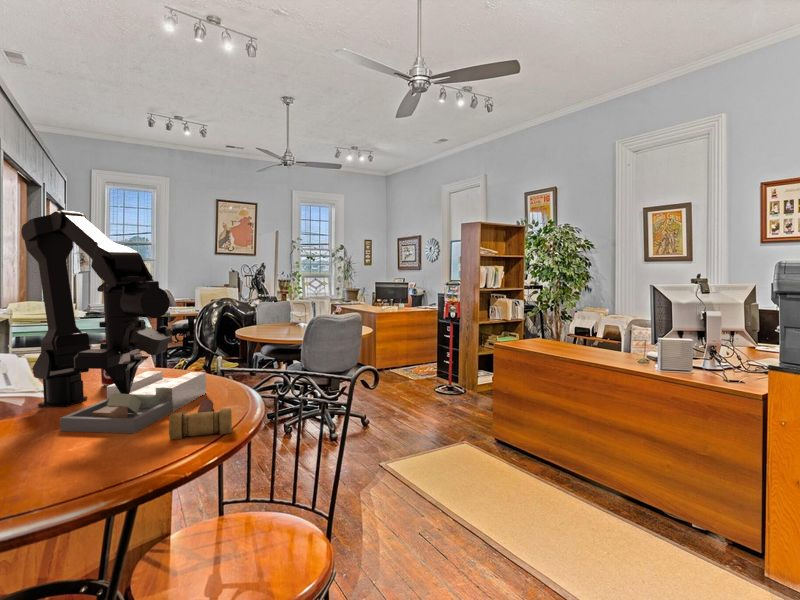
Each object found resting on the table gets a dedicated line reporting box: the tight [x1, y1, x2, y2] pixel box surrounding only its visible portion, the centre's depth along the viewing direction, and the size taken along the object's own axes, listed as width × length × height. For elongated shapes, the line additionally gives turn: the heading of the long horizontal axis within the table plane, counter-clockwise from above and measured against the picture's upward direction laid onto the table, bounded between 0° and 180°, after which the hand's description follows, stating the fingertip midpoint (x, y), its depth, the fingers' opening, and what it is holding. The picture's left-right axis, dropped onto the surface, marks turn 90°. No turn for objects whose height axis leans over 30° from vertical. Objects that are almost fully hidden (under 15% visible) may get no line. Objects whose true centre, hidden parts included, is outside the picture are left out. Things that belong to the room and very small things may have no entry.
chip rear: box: [107, 393, 141, 414], centre depth 91 cm, size 4×4×2 cm
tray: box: [59, 398, 173, 434], centre depth 90 cm, size 14×12×2 cm
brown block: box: [92, 406, 128, 418], centre depth 87 cm, size 4×4×2 cm
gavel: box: [168, 398, 233, 441], centre depth 91 cm, size 21×5×10 cm
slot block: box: [106, 370, 207, 413], centre depth 103 cm, size 14×14×5 cm
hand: (125, 395), depth 91 cm, fingers closed
